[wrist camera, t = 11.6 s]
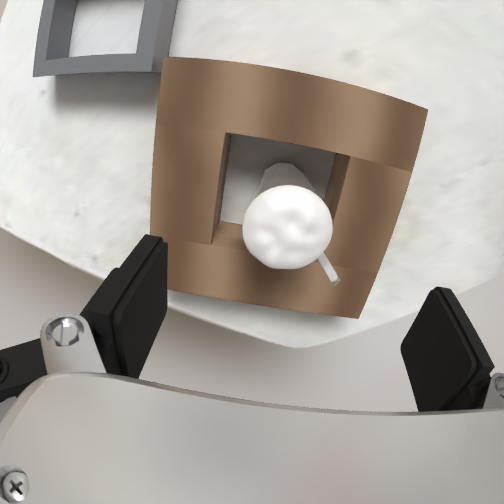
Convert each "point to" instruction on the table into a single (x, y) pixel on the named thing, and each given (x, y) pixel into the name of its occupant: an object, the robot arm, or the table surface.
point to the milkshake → (288, 222)
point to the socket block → (286, 130)
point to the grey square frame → (145, 60)
